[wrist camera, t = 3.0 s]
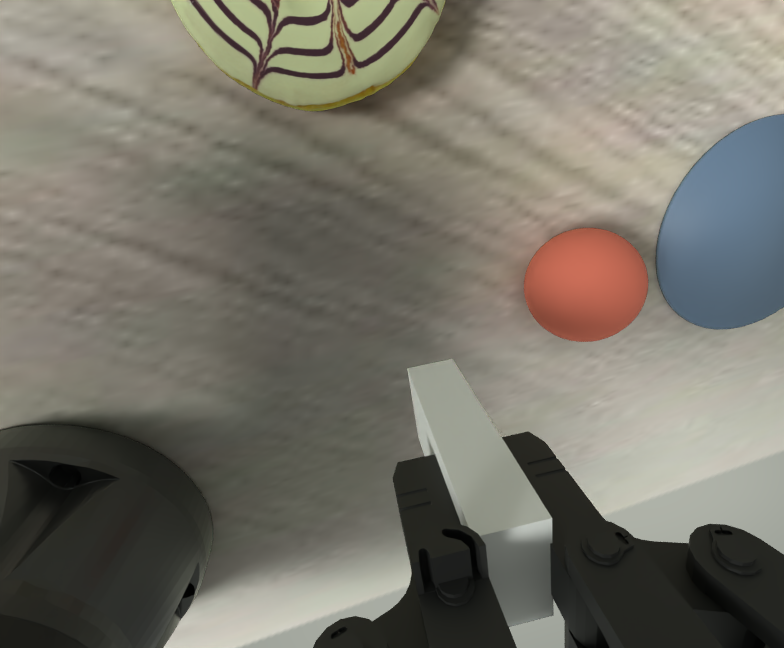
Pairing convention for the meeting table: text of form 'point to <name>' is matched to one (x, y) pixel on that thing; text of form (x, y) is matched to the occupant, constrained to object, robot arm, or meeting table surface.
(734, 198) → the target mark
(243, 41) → the decorated donut
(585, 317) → the ball
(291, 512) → the meeting table surface
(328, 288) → the meeting table surface
